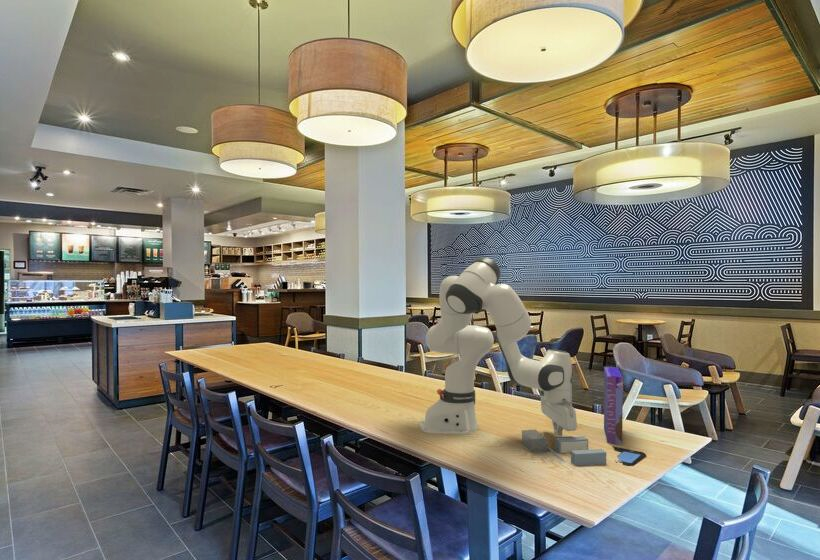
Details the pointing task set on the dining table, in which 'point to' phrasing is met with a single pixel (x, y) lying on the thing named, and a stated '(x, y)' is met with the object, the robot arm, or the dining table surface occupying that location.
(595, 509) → the dining table surface
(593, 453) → the vise
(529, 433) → the steel block
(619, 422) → the cereal box
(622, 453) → the game console
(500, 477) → the dining table surface
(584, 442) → the block
